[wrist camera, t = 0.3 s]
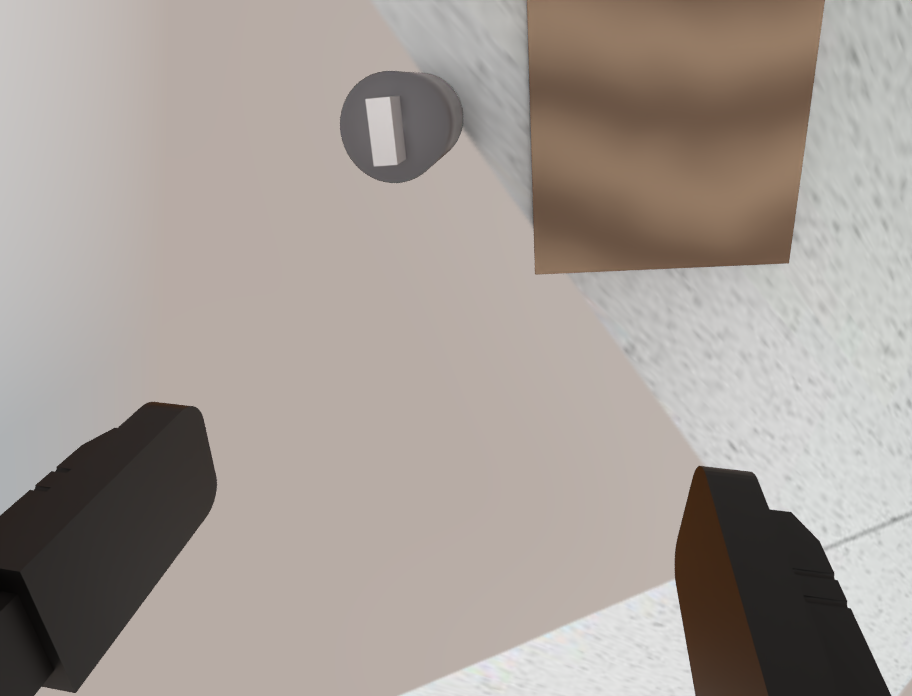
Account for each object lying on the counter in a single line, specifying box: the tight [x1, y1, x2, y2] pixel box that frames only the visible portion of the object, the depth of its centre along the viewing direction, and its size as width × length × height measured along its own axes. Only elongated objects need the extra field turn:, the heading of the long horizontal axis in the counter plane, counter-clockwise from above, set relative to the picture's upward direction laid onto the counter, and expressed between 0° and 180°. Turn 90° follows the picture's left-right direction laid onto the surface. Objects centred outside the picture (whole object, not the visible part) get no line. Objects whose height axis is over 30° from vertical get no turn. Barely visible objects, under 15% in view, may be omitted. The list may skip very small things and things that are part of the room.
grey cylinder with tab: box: [340, 71, 463, 183], centre depth 30 cm, size 5×5×10 cm
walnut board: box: [527, 0, 825, 274], centre depth 32 cm, size 18×14×1 cm
